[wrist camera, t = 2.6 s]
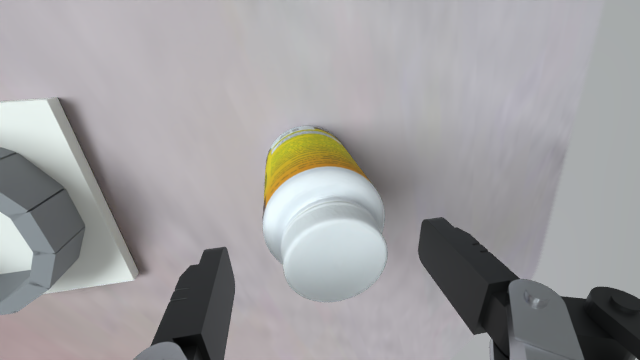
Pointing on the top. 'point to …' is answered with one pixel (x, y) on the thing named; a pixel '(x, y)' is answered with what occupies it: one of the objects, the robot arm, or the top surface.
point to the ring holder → (51, 210)
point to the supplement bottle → (322, 216)
